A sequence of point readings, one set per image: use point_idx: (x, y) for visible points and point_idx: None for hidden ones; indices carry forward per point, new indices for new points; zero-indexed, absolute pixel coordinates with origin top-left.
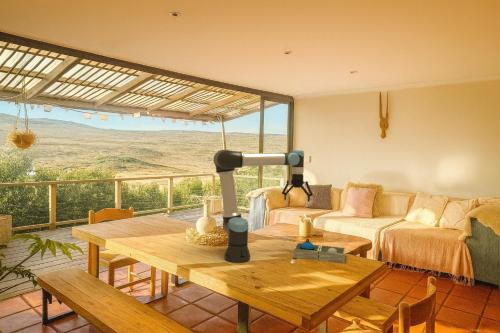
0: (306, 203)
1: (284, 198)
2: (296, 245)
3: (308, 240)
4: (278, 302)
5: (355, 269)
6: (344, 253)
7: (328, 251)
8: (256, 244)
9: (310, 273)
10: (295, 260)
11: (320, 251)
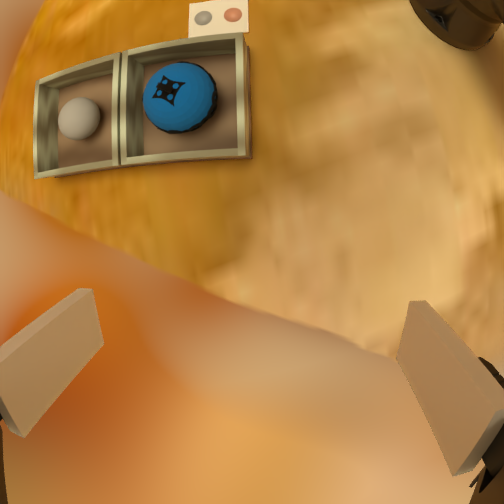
0: (63, 309)
1: (495, 373)
2: (239, 98)
3: (158, 83)
4: None
5: (37, 66)
6: (36, 93)
7: (87, 102)
8: (455, 221)
9: None
10: (232, 28)
11: (113, 59)
